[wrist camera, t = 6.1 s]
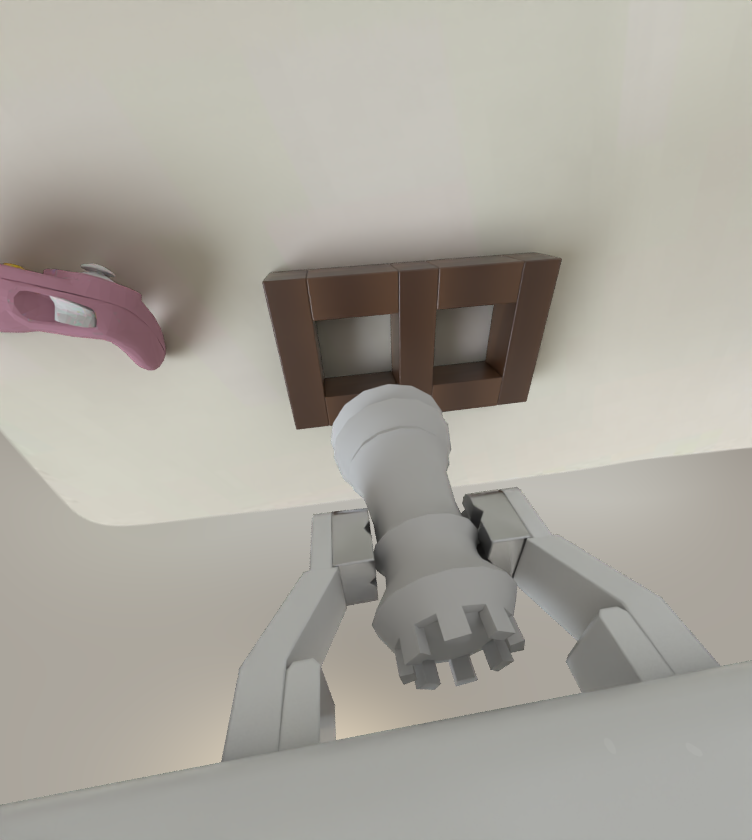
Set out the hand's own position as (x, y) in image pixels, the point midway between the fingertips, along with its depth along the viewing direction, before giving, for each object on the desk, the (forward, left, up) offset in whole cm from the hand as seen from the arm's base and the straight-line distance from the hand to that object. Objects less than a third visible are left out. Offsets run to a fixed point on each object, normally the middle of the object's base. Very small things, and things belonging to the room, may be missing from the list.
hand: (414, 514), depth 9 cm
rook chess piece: (0, 0, -5) cm, 5 cm away
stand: (-3, 0, -15) cm, 15 cm away
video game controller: (+16, -4, -15) cm, 22 cm away
